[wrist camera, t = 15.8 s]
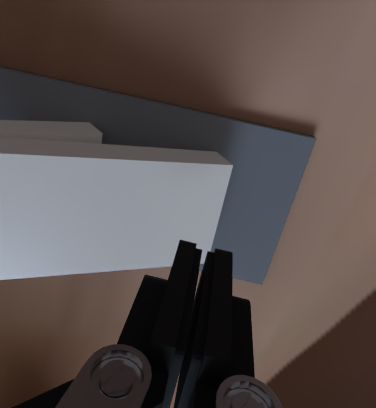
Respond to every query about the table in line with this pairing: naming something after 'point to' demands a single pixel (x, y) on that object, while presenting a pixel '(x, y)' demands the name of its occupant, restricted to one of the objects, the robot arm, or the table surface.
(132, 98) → the domino mat
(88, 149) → the domino
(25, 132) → the domino
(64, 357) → the table surface
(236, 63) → the table surface
